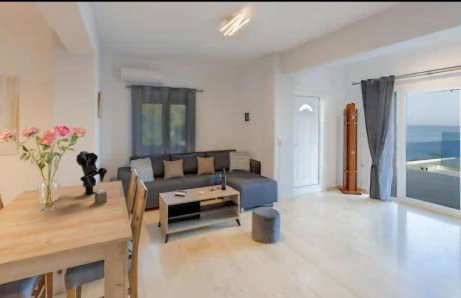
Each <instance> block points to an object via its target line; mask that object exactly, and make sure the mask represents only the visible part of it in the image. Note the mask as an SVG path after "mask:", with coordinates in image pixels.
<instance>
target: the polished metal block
mask: <svg viewBox="0 0 461 298" xmlns="http://www.w3.org/2000/svg"><path fill="white" fill-rule="evenodd" d="M93 192H95V193H94V203H97V204H102V203H107V202H108V196H107V195H108V193H107V190H105V189H99V190H93Z"/></svg>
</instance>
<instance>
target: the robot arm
mask: <svg viewBox="0 0 461 298" xmlns="http://www.w3.org/2000/svg"><path fill="white" fill-rule="evenodd" d="M98 157H99V156H98V155H97V154H95V152H88V151H85V150H84V151H82V150H81V151H80V152H79V154H77V155H76V157H75V158H76V160H75V161H76V163H77V165H78V166H80V167H81V170H82V173H83V175H82V176H81V177H80V181H81V182H82V187H83V188H84V189H85V190H84V191H85V192H83V194H85V195H87V196H88V195H93V194H94V195H95V192H94V187H95V186H96V185H97V183H96V182H97V179H96V178H95V176H97V175H99V179H100V182H101V183H103V181H104V178H105V175H106V174H107V173H108V170H107V168H105V167H100V168H98V167H97V164H96V163H97V160H98V159H99V158H98Z"/></svg>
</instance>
